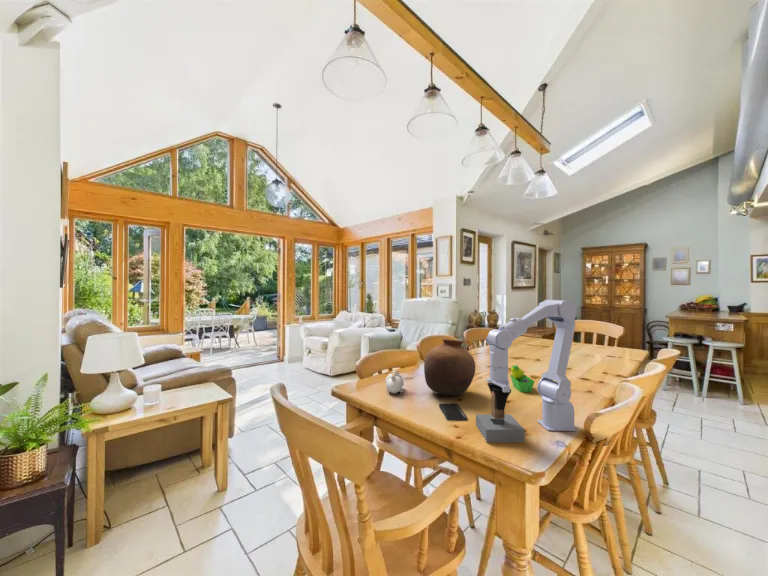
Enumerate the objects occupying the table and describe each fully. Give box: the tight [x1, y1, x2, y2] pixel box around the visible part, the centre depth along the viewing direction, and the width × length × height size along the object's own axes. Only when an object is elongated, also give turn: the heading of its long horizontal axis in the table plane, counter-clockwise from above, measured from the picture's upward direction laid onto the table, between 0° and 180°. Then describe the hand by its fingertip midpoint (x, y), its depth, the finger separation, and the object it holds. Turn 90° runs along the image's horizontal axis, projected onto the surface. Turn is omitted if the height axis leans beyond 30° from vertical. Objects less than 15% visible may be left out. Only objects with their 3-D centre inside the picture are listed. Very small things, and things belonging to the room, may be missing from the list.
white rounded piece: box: [384, 370, 405, 394], centre depth 152 cm, size 10×8×15 cm
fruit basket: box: [510, 364, 536, 393], centre depth 154 cm, size 11×9×11 cm
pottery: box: [423, 338, 476, 397], centre depth 148 cm, size 23×23×25 cm
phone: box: [438, 402, 468, 421], centre depth 126 cm, size 8×1×15 cm
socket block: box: [475, 413, 526, 443], centre depth 108 cm, size 12×12×4 cm
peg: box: [491, 391, 506, 419], centre depth 108 cm, size 3×3×8 cm
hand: (498, 407), depth 108 cm, fingers closed on peg, 3 cm apart
